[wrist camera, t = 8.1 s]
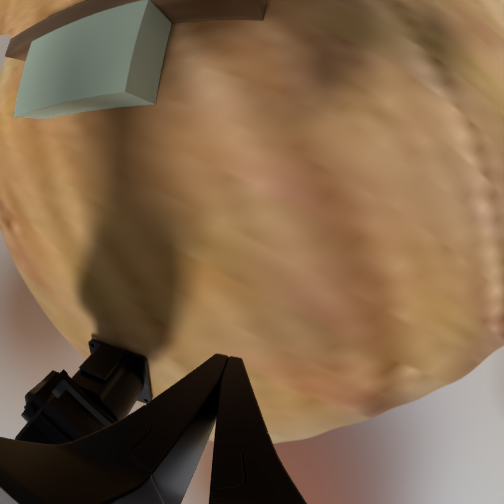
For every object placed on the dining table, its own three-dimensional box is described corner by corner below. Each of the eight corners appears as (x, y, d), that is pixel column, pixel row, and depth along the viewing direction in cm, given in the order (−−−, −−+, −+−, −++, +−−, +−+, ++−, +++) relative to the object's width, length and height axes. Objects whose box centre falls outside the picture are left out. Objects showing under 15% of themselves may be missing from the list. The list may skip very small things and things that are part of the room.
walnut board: (263, 20, 14) (257, -10, 10) (30, 62, 16) (4, 56, 12) (266, 1, 13) (261, -30, 10) (35, 46, 15) (10, 39, 11)
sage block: (157, 105, 17) (124, 91, 13) (48, 119, 18) (13, 116, 13) (173, 25, 15) (148, -2, 10) (62, 52, 16) (31, 41, 11)
